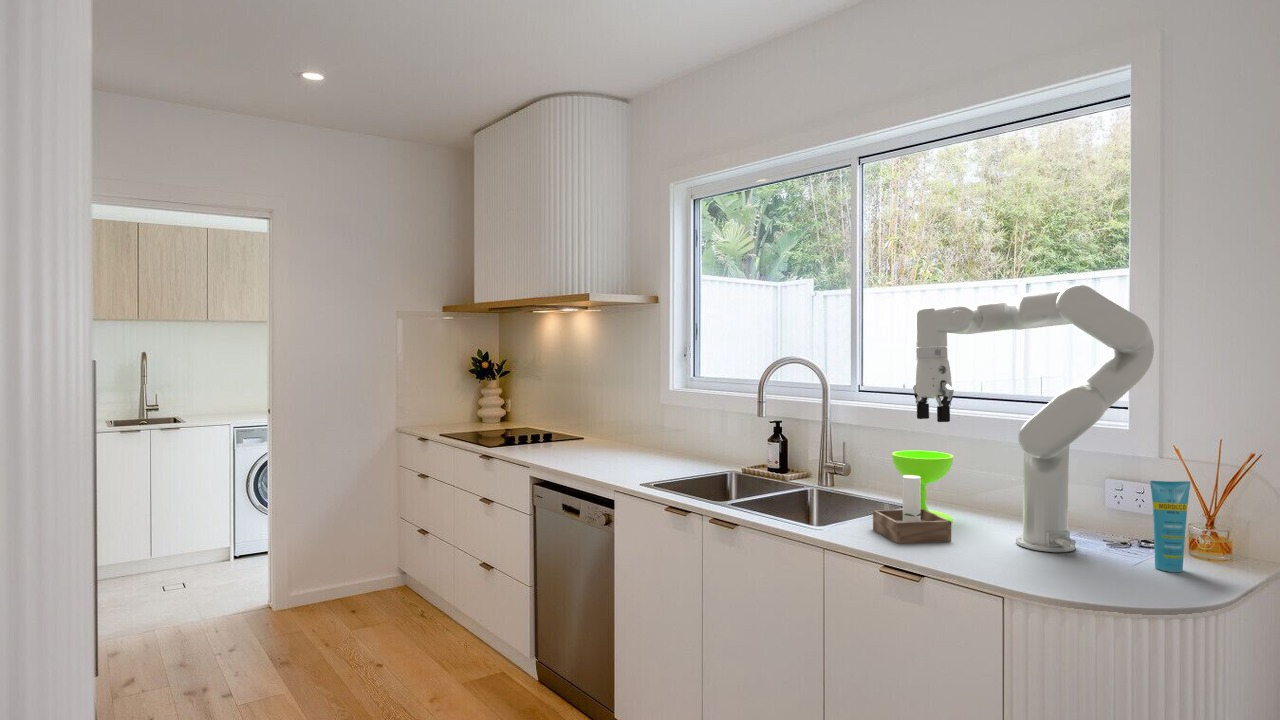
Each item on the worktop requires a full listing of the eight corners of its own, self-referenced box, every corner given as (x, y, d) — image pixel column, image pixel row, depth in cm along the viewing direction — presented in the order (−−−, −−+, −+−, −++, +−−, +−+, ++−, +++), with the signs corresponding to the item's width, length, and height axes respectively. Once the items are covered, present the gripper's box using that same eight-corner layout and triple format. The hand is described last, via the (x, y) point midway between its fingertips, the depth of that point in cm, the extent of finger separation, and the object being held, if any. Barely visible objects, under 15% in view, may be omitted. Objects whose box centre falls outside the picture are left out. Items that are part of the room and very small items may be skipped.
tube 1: (899, 533, 192) (899, 475, 192) (915, 533, 193) (915, 475, 192) (907, 537, 188) (907, 478, 188) (923, 537, 189) (923, 478, 188)
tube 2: (1156, 572, 159) (1156, 482, 158) (1144, 565, 164) (1145, 478, 163) (1194, 573, 158) (1195, 483, 157) (1181, 566, 162) (1182, 478, 162)
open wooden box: (951, 541, 184) (951, 521, 184) (897, 543, 183) (897, 523, 183) (923, 527, 198) (923, 508, 198) (873, 529, 197) (873, 510, 197)
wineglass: (880, 514, 214) (880, 452, 214) (928, 511, 218) (928, 449, 218) (915, 527, 198) (915, 460, 198) (966, 523, 203) (966, 457, 202)
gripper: (964, 354, 186) (965, 422, 186) (927, 354, 203) (928, 417, 203) (936, 354, 185) (938, 423, 185) (901, 354, 202) (902, 418, 202)
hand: (933, 420), depth 194 cm, fingers open, 9 cm apart
